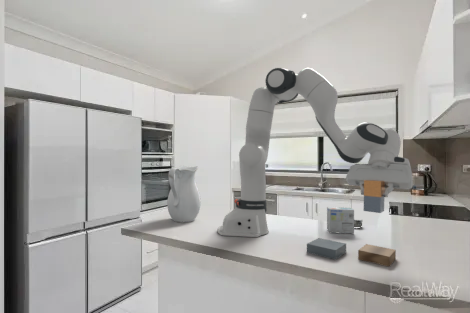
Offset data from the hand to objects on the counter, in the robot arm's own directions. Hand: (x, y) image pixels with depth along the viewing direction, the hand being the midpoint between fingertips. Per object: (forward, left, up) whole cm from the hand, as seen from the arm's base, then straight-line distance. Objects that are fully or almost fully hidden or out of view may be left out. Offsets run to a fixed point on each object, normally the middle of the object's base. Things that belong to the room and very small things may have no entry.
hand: (373, 194), depth 91 cm
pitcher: (-68, +55, -21) cm, 90 cm away
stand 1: (-13, +7, -21) cm, 25 cm away
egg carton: (+15, +45, -21) cm, 52 cm away
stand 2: (+1, 0, -21) cm, 21 cm away
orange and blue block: (0, 0, -5) cm, 5 cm away
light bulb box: (+5, +35, -21) cm, 41 cm away
